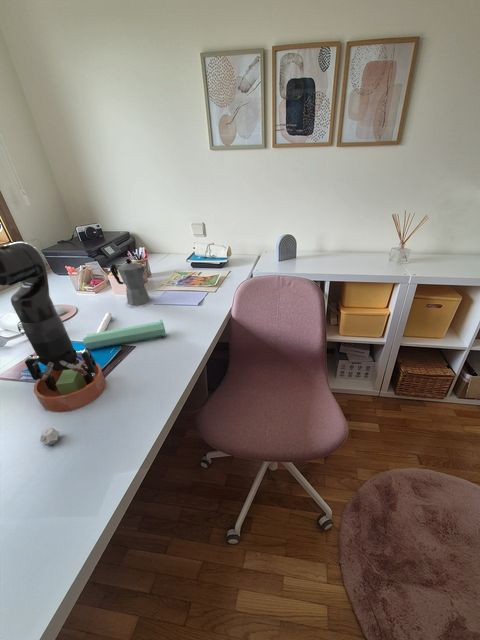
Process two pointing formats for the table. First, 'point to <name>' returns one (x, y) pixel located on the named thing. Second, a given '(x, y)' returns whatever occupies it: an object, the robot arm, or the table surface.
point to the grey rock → (49, 436)
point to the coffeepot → (132, 281)
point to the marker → (104, 323)
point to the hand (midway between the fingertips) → (72, 386)
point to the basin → (69, 401)
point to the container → (124, 335)
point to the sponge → (70, 382)
